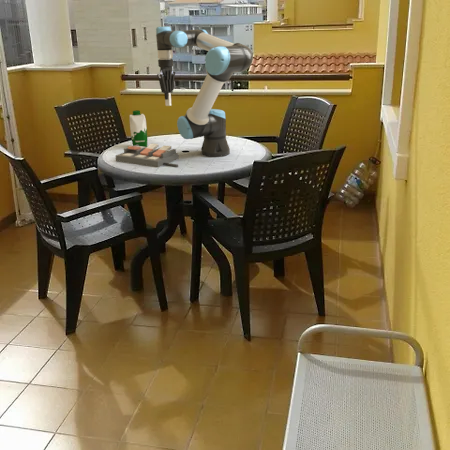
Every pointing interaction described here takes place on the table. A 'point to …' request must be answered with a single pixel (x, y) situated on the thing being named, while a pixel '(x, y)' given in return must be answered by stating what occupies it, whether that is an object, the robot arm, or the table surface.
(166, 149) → the rocker
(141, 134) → the milk carton
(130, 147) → the rocker
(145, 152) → the middle rocker
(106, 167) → the table surface
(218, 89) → the robot arm
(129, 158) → the power strip
